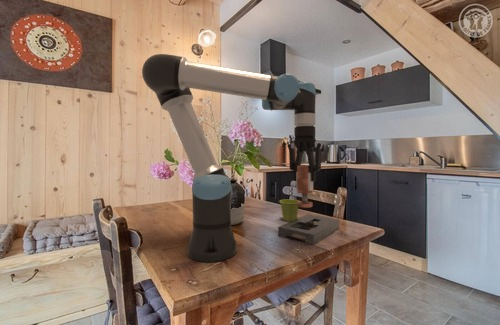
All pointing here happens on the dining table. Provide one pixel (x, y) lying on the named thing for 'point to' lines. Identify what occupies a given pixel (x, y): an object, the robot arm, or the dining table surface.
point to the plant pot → (289, 209)
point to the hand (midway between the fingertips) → (304, 189)
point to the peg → (303, 185)
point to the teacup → (237, 215)
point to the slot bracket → (313, 236)
